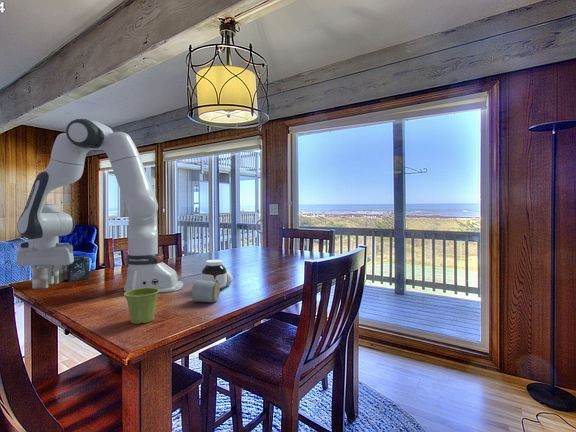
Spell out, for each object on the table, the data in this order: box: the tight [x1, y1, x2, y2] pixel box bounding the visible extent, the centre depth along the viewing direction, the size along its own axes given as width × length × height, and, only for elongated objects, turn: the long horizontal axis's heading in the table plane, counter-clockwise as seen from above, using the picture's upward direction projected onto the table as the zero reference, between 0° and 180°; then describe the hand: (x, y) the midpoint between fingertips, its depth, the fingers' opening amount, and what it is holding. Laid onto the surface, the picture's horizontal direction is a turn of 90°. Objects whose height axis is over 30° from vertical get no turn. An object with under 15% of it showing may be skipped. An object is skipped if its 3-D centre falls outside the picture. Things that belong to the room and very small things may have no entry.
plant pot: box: [123, 288, 160, 325], centre depth 92 cm, size 9×9×9 cm
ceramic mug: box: [191, 279, 221, 303], centre depth 113 cm, size 11×8×8 cm
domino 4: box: [59, 265, 65, 283], centre depth 139 cm, size 5×2×8 cm, turn 98°
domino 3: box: [52, 268, 60, 285], centre depth 135 cm, size 5×2×8 cm, turn 98°
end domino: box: [64, 265, 68, 281], centre depth 143 cm, size 5×2×8 cm, turn 98°
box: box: [67, 254, 91, 282], centre depth 143 cm, size 8×6×11 cm
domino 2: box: [37, 265, 54, 285], centre depth 131 cm, size 5×2×8 cm, turn 98°
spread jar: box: [200, 259, 234, 291], centre depth 130 cm, size 12×11×12 cm
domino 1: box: [31, 267, 49, 290], centre depth 128 cm, size 5×2×8 cm, turn 98°
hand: (46, 275), depth 132 cm, fingers closed on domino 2, 5 cm apart
